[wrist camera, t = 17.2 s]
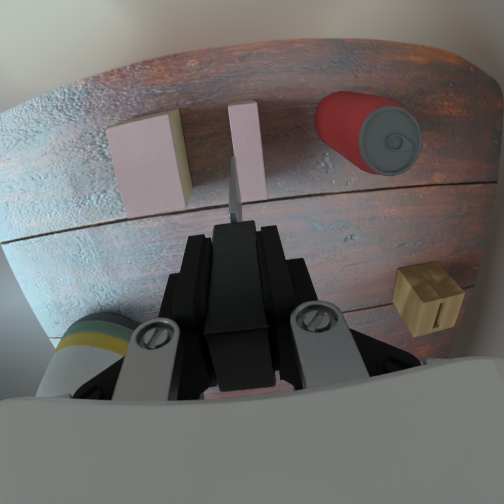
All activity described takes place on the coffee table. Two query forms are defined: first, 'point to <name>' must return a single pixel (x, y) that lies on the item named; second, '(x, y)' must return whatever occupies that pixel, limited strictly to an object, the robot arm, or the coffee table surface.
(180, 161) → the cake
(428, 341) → the coffee table surface
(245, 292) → the knife
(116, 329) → the vase
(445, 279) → the knife block
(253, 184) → the cake slice
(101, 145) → the coffee table surface
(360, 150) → the beer can
